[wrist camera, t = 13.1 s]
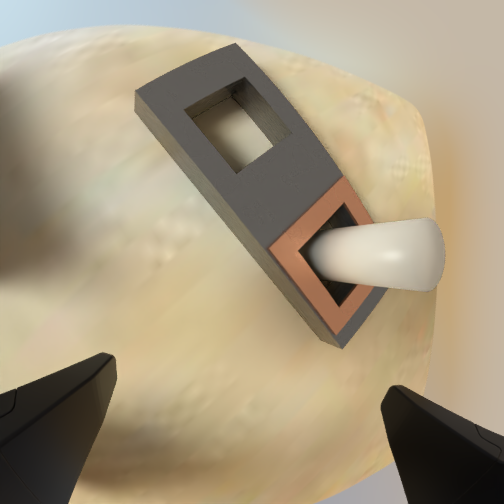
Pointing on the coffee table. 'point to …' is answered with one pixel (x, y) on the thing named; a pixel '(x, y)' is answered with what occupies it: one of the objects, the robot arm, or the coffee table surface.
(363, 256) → the peg
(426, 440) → the robot arm
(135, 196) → the coffee table surface
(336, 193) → the rail
